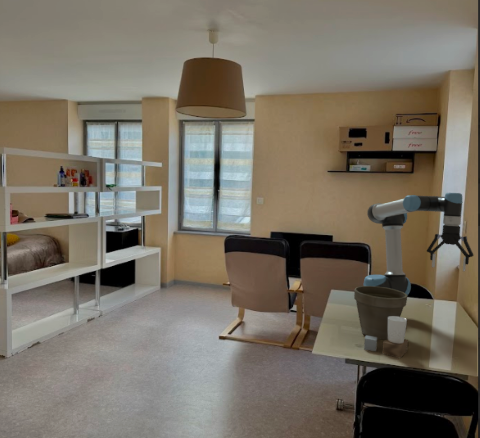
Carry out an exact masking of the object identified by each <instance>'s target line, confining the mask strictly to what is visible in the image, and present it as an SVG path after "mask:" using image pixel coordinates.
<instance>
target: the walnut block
mask: <svg viewBox="0 0 480 438" xmlns="http://www.w3.org/2000/svg"><path fill="white" fill-rule="evenodd" d="M408 345H409V340H408V339H406V338H404V343H400V344H398V343H392V342H390V341H388V339H384V341H383V342H382V354H383V355H388V356H391V357H395V358H398V359H401V358H402V357H403V356H404V355H405V354H406V353H407V352H408Z"/></svg>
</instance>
